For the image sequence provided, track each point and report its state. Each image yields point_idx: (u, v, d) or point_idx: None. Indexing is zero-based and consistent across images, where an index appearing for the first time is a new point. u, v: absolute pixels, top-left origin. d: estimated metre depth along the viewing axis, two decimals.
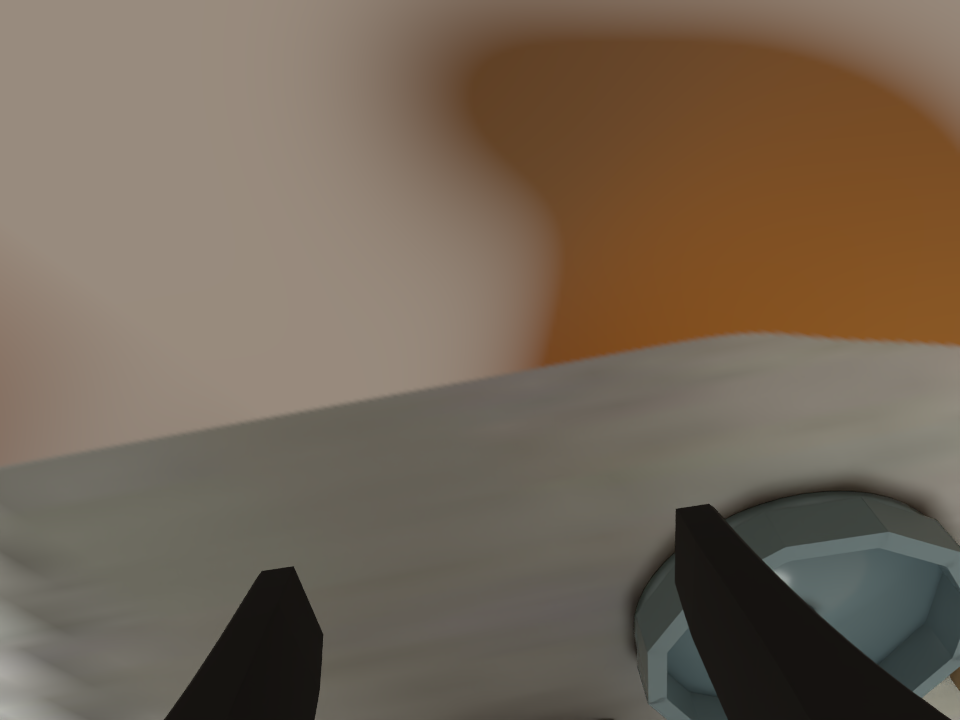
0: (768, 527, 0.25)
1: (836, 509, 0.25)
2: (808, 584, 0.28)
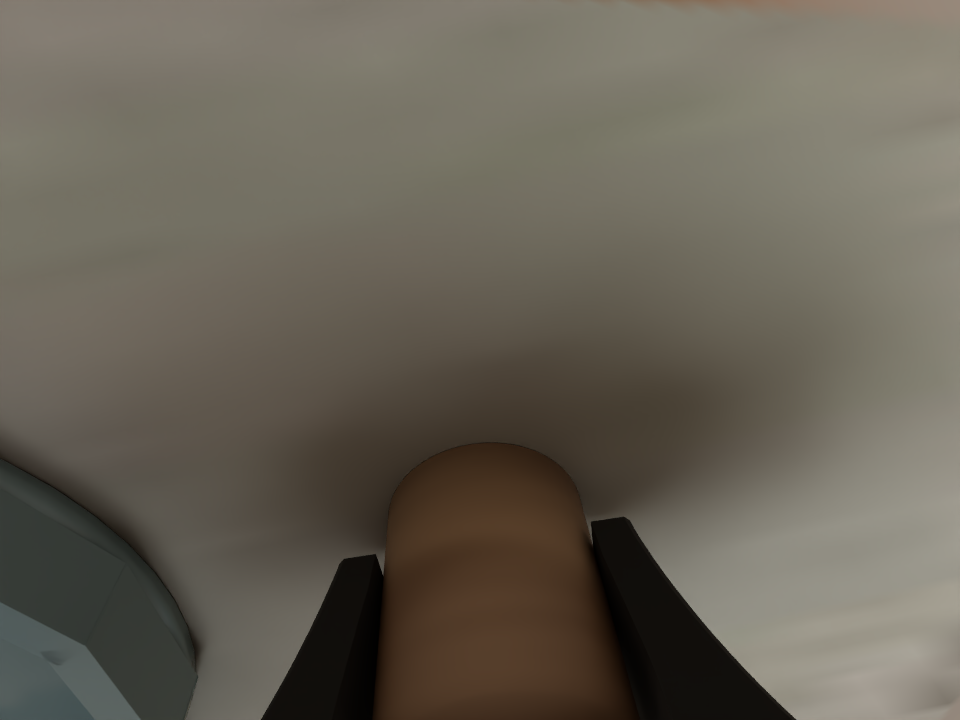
0: None
1: None
2: None
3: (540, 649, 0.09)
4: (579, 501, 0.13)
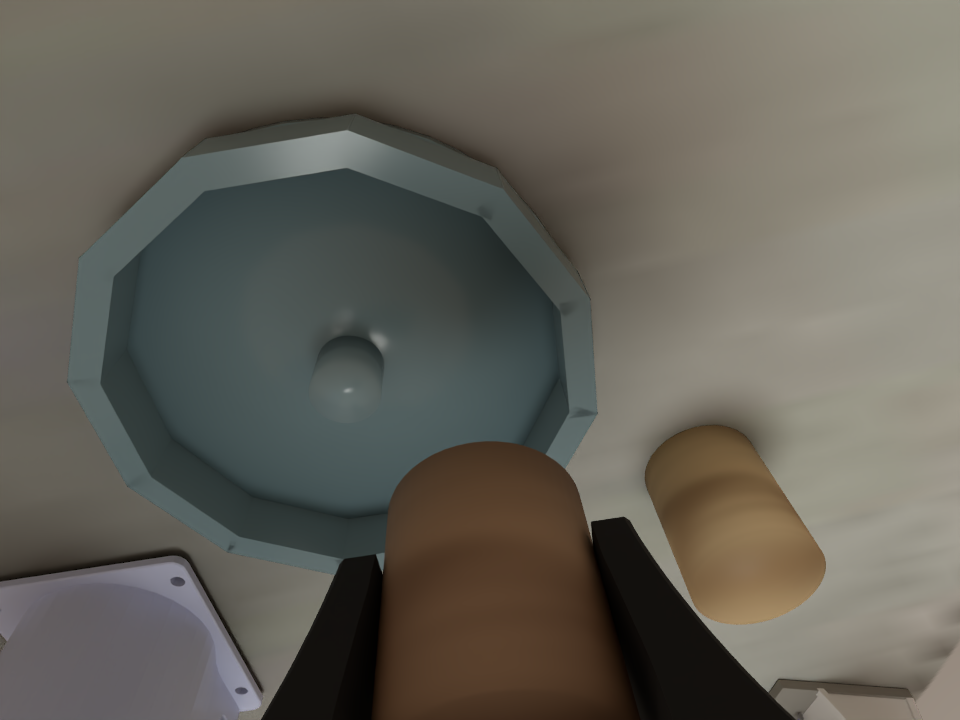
0: None
1: (305, 125, 0.16)
2: (345, 298, 0.19)
3: (540, 647, 0.09)
4: (579, 500, 0.13)
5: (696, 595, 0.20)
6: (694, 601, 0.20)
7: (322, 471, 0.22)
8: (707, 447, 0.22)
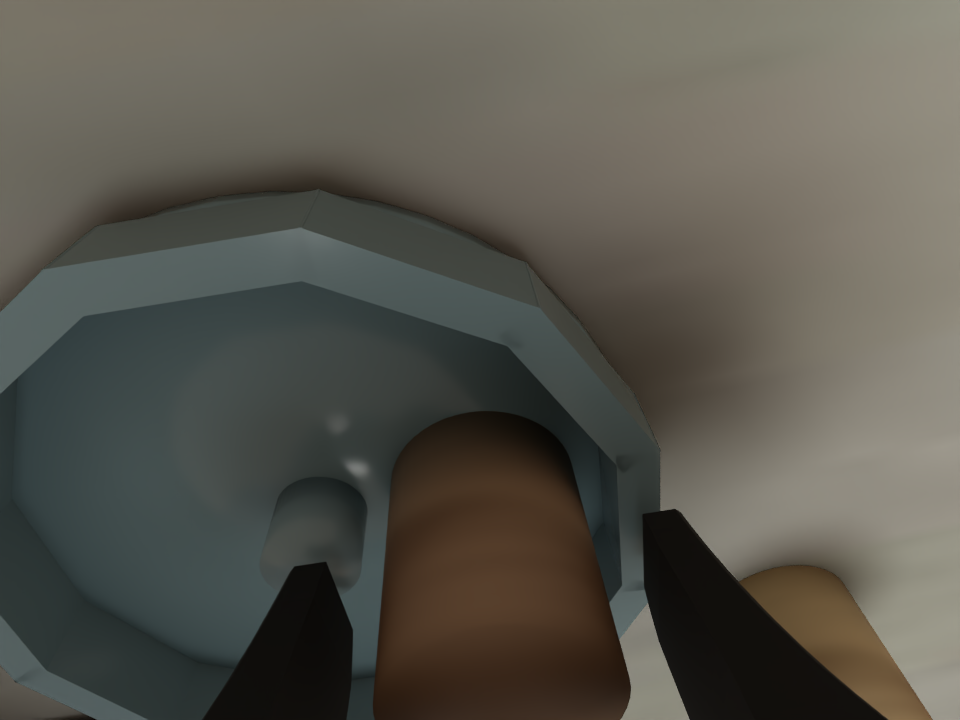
0: None
1: (242, 209, 0.11)
2: (311, 431, 0.13)
3: (532, 588, 0.10)
4: (571, 467, 0.14)
5: None
6: None
7: None
8: (794, 602, 0.17)
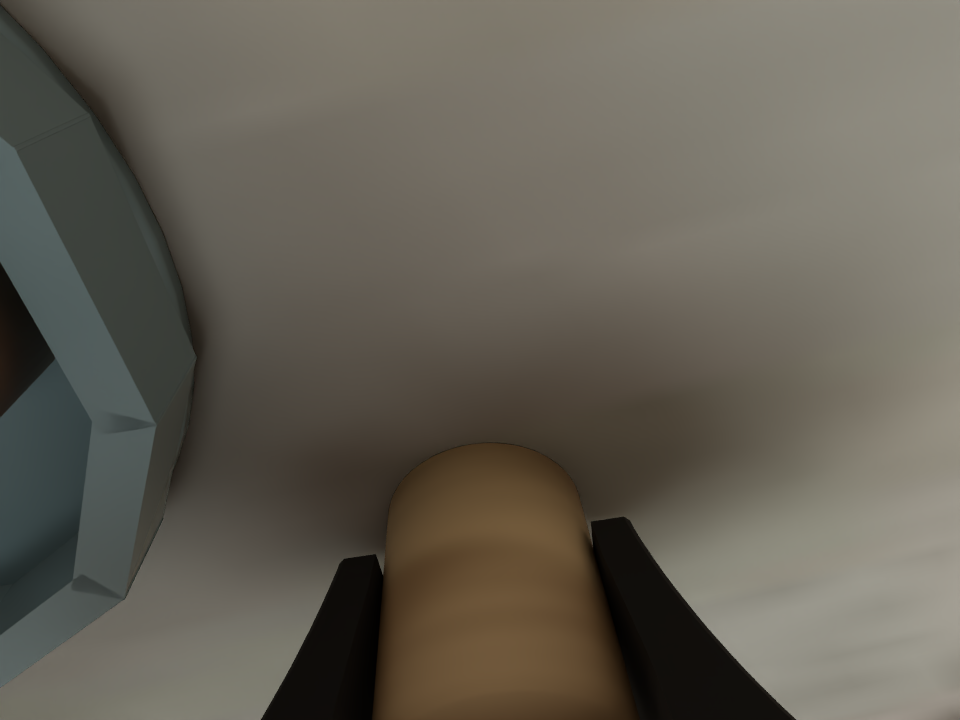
0: None
1: None
2: None
3: None
4: None
5: None
6: None
7: None
8: (463, 486, 0.12)
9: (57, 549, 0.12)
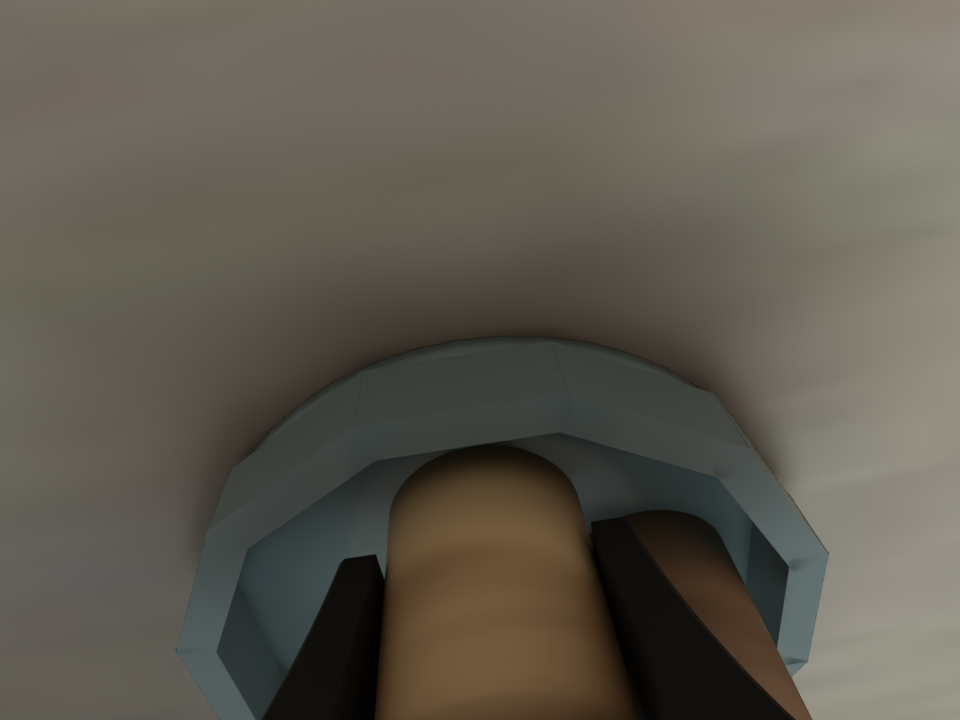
0: (352, 397, 0.12)
1: (493, 361, 0.12)
2: None
3: None
4: None
5: None
6: None
7: None
8: (454, 491, 0.12)
9: None
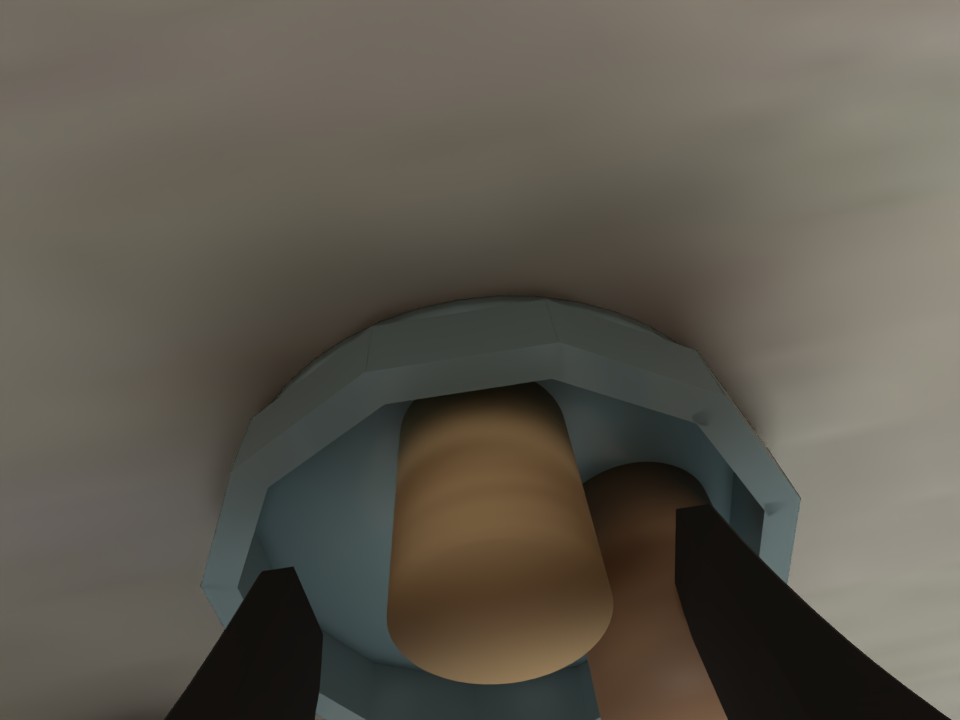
0: (363, 348, 0.14)
1: (492, 317, 0.14)
2: None
3: None
4: None
5: (405, 646, 0.12)
6: (406, 655, 0.12)
7: None
8: (456, 402, 0.14)
9: None
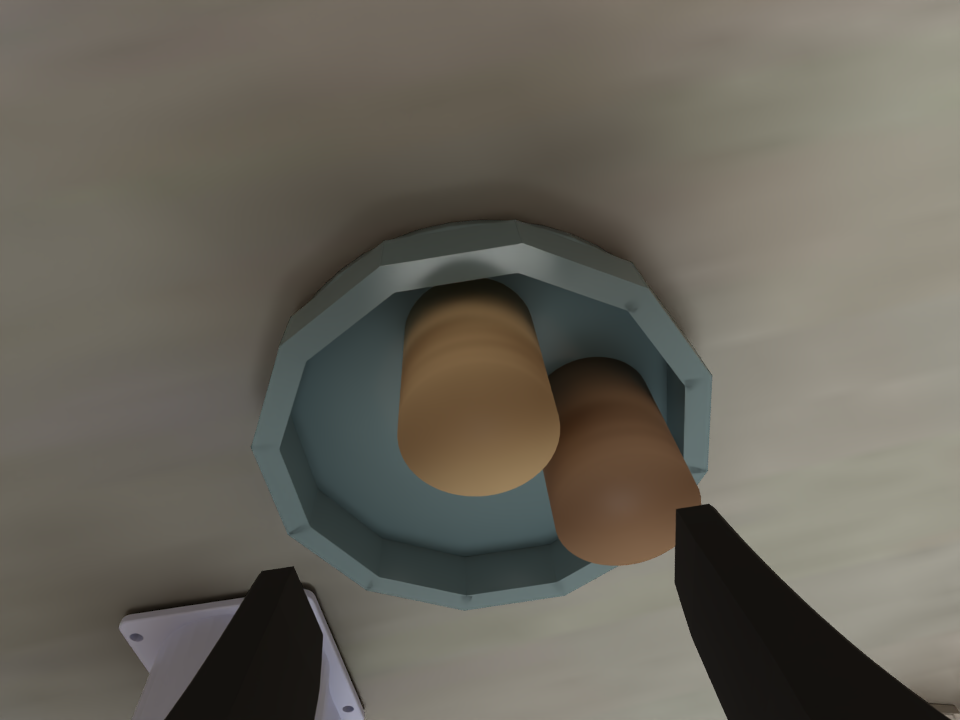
0: (378, 254, 0.18)
1: (474, 231, 0.18)
2: None
3: (646, 443, 0.17)
4: (650, 393, 0.21)
5: (411, 459, 0.16)
6: (411, 467, 0.17)
7: (447, 516, 0.24)
8: (447, 297, 0.18)
9: None
